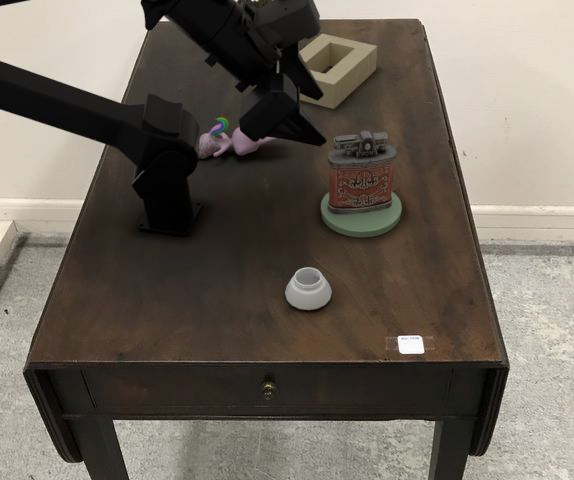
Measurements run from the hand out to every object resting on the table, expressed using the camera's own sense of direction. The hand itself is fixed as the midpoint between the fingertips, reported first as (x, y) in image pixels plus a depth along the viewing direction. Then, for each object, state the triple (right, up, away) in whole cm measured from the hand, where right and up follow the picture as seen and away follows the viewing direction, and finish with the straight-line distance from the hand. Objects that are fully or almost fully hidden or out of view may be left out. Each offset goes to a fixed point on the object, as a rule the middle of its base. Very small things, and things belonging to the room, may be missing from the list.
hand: (322, 119), depth 78 cm
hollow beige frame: (+2, +15, +32) cm, 35 cm away
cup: (-9, +23, +40) cm, 47 cm away
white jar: (-2, -20, -1) cm, 20 cm away
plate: (+5, -9, +9) cm, 14 cm away
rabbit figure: (-11, +1, +19) cm, 22 cm away
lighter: (+5, -9, +8) cm, 13 cm away
